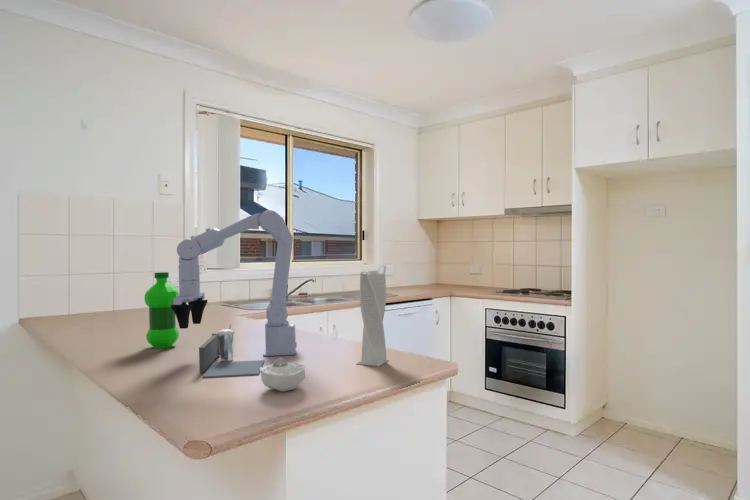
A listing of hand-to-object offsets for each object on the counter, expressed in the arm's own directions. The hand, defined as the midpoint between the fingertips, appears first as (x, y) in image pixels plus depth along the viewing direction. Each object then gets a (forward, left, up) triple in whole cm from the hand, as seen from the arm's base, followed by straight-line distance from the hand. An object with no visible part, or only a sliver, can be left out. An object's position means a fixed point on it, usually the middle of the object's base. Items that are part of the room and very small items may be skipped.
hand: (190, 325), depth 137 cm
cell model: (-29, +35, -10) cm, 46 cm away
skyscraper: (-53, +16, -10) cm, 56 cm away
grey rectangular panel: (-7, +7, -9) cm, 14 cm away
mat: (-15, +15, -10) cm, 23 cm away
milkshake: (-11, +4, -10) cm, 15 cm away
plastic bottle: (+14, -19, -10) cm, 26 cm away
